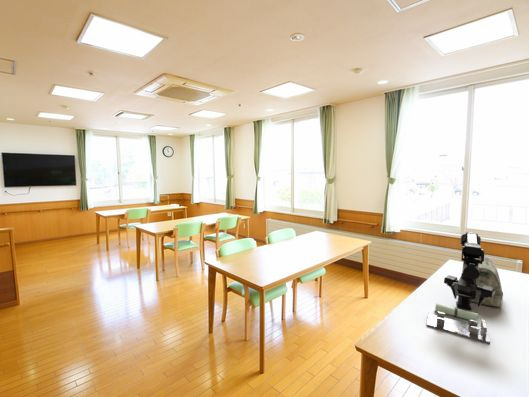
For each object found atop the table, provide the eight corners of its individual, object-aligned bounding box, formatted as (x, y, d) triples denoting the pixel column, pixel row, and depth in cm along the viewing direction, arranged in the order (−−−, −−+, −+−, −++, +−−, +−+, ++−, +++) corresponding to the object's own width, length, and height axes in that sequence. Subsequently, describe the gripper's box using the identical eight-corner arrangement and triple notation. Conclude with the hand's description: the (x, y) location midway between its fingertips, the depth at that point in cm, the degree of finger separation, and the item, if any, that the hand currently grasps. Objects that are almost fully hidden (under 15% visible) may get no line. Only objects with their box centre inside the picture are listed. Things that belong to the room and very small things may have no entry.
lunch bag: (462, 284, 179) (465, 252, 176) (498, 292, 168) (502, 258, 165) (460, 300, 158) (464, 264, 155) (502, 310, 147) (506, 272, 144)
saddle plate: (428, 314, 143) (428, 304, 142) (486, 330, 129) (487, 318, 129) (426, 326, 133) (427, 314, 132) (489, 344, 120) (491, 331, 119)
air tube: (435, 309, 148) (435, 301, 148) (476, 319, 139) (477, 311, 138) (435, 312, 145) (435, 305, 145) (477, 323, 135) (478, 315, 135)
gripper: (440, 269, 130) (438, 300, 132) (490, 283, 115) (486, 317, 117) (449, 263, 136) (446, 293, 139) (497, 276, 122) (493, 308, 124)
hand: (466, 302), depth 129 cm, fingers open, 9 cm apart
